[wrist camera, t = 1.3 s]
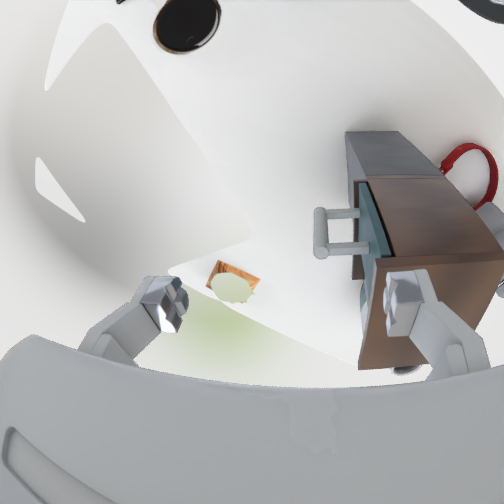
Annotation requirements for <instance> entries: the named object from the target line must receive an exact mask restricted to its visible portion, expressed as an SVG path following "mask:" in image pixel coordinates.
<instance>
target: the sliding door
mask: <svg viewBox="0 0 504 504" xmlns="http://www.w3.org/2000/svg"><path fill="white" fill-rule="evenodd" d="M345 218H359V231H358V240H359V242H348V243H329V240H328V224H327V219H345ZM313 254H314V256H315V257H316V258H317V259H325V258H327V257H328V256H334V255H358V254H361V256H362V262H363V267H364V273H365V280H366V286H367V293H368V300H370V293H371V286H372V278H373V270H374V261H375V258H391V252H390V249H389V246H388V242H387V239H386V236H385V233H384V230H383V227H382V225H381V222H380V219H379V216H378V213H377V211H376V208H375V205H374V203H373V200H372V197H371V195H370V192H369V190H368V187H367V185H366V183H359V208H352V209H330V210H326V209H325V208H323V207H317V208H316V209H315V210H314V240H313Z"/></svg>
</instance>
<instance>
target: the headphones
mask: <svg viewBox="0 0 504 504" xmlns="http://www.w3.org/2000/svg"><path fill="white" fill-rule="evenodd" d="M471 149H480V150H481V151H482V152H483V153H484V154H485V156H486V158H487V160H488V163H489V166H490V183H489V186H488V189H487V192H486V194H485V196H484V197H483V199H482V200H481V201H480V202H479V203H478V204H477V205H476V206H475V207H474V208H473V209H474V210H475V211H476V210H477V209H479V208H480V207H481V206H482V205H483V204H485V203H486V202H492V200H493V198H494V196H495V194H496V190H497V186H498V168H497V165H496V162H495V159H494V158H493V156H492V155H491V153H490V152H489V151H488V150H486V149H485V148H483V147H481V146H479V145H476V144H473V143H465V144H462V145H460V146H458V147H457V148H455V149H454V150H453V151H452V152H451V153H450V154H449V155H448V156H447V157H446V158H445V159H444V160H443V161H442V162H441V167H440V168H439V169H438V170H439V171H440V172H441V171H442V170H444V172H443V173H442V174H443V175H445V174H446V173H447V172H448V171H449V170H450V169H451V168H452V167H453V163H454V162H455V161H456V160H457V159H458V158H459V157H460V156H461V155H462V154H463V153H465V152H466V151H468V150H471Z"/></svg>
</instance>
